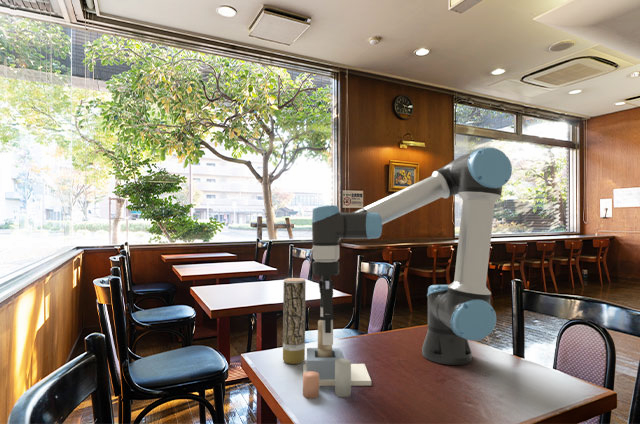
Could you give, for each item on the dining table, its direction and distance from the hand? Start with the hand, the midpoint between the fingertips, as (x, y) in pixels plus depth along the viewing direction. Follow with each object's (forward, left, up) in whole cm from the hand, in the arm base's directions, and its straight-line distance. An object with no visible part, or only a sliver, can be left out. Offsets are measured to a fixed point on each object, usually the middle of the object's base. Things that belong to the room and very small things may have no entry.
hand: (326, 336), depth 106 cm
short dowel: (+4, +11, -11) cm, 16 cm away
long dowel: (0, 0, -10) cm, 10 cm away
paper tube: (+9, -12, -11) cm, 19 cm away
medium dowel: (-4, +11, -11) cm, 16 cm away
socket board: (-3, 0, -11) cm, 11 cm away
